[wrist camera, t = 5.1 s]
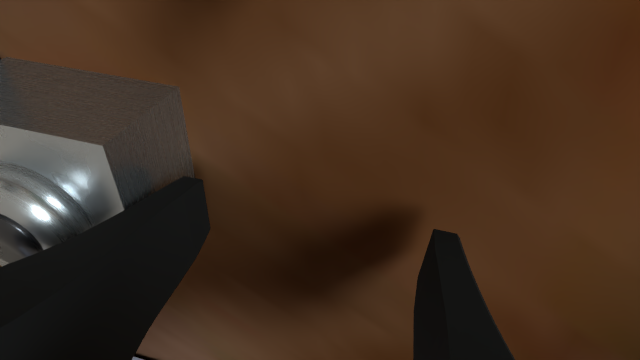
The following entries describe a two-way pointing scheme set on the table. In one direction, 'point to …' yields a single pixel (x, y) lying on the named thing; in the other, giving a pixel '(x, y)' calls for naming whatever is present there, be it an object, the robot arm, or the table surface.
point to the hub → (80, 150)
